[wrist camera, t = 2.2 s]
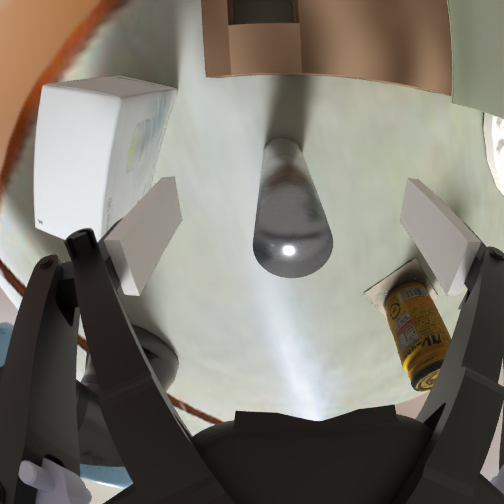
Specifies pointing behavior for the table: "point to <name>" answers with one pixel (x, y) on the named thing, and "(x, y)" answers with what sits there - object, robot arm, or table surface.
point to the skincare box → (96, 150)
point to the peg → (289, 215)
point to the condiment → (413, 322)
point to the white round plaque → (495, 147)
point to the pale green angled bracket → (478, 54)
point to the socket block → (336, 42)
